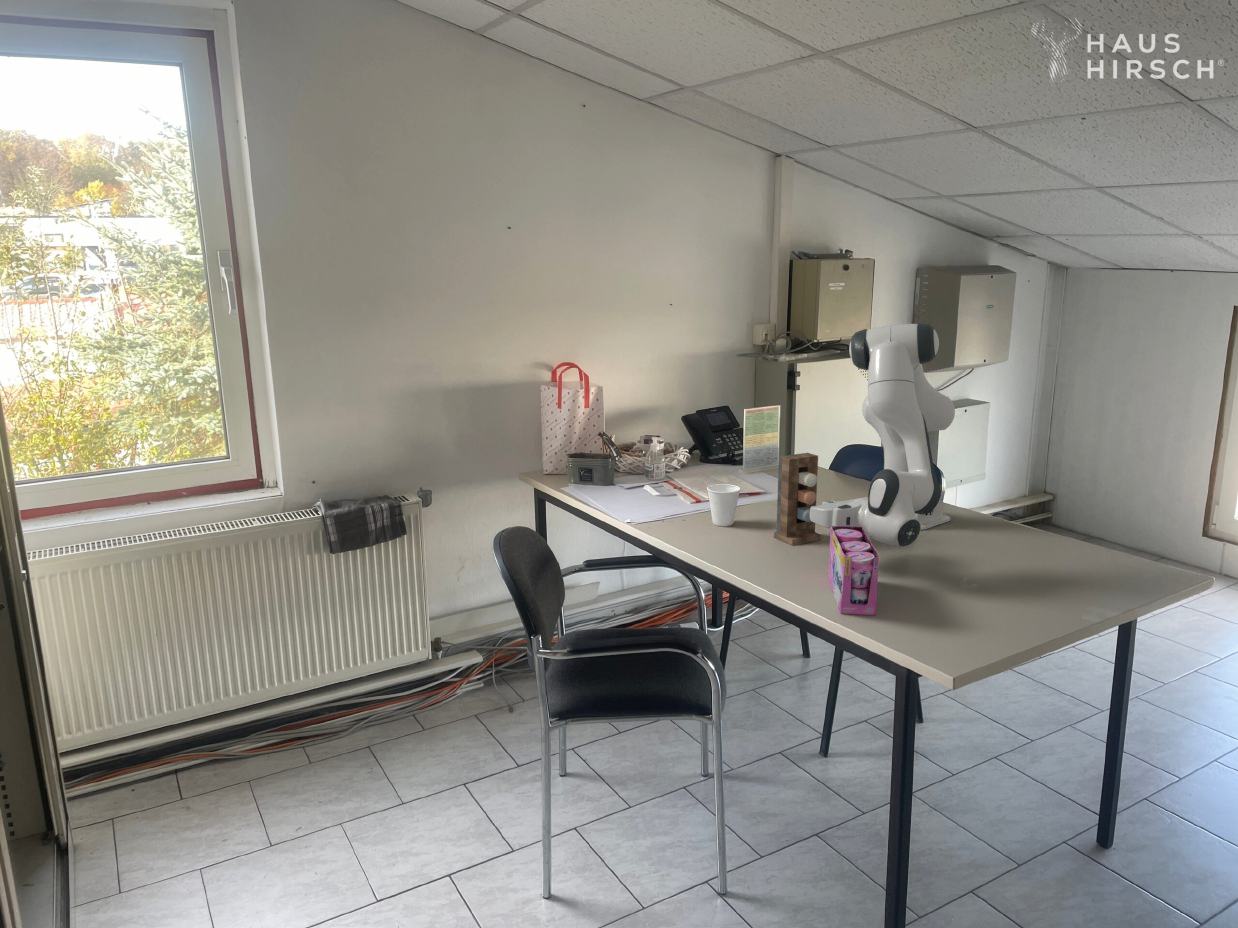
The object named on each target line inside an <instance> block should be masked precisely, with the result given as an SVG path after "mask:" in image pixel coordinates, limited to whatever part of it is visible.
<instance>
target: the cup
mask: <svg viewBox="0 0 1238 928" xmlns="http://www.w3.org/2000/svg"><path fill="white" fill-rule="evenodd" d="M706 489H707V494H708V499H709V505H710V511H711V512H710V513H711V520H712V523H713V525H714V526H717V527H724V528H725V527H732V525H734V523H735V517H736V512H737V506H738V502H739V501H738V500H739V496H740V491H741V490H742V489H741V487H740V486H738V485H735V484H729V483H717V484H711V485H708V486H707V487H706Z"/></svg>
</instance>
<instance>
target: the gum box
mask: <svg viewBox="0 0 1238 928" xmlns="http://www.w3.org/2000/svg"><path fill="white" fill-rule="evenodd" d="M869 538H870V537H867V535H866V533H865V531H864V529H863V527H850V526H831V529H830V533H829V555H828V558H829V559H828V581H829V585H830V588H831V590H832V593H833V596H834V599H835V601H836V604H837V605H836V606H837V607H838V610H839V613H840V614H841V615H842V614H845V615H862V616H864V615H866V616H868V615H869V616H876V613H877V601H878V600H877V597H878V583H879V582H878V578H879V559H880V558H879V553H878V551H877V549H876V548H875V546H874V545H873V543H872V542H871V540H870V539H869Z"/></svg>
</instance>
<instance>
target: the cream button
mask: <svg viewBox="0 0 1238 928" xmlns="http://www.w3.org/2000/svg"><path fill="white" fill-rule="evenodd" d="M798 483H800V484H803V485H806V486H809V487H813V486H814V485H815V484H816V483H817V484H818V475H817V476H816V475H815V474H812V473H809V472H801V473H798Z"/></svg>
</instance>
